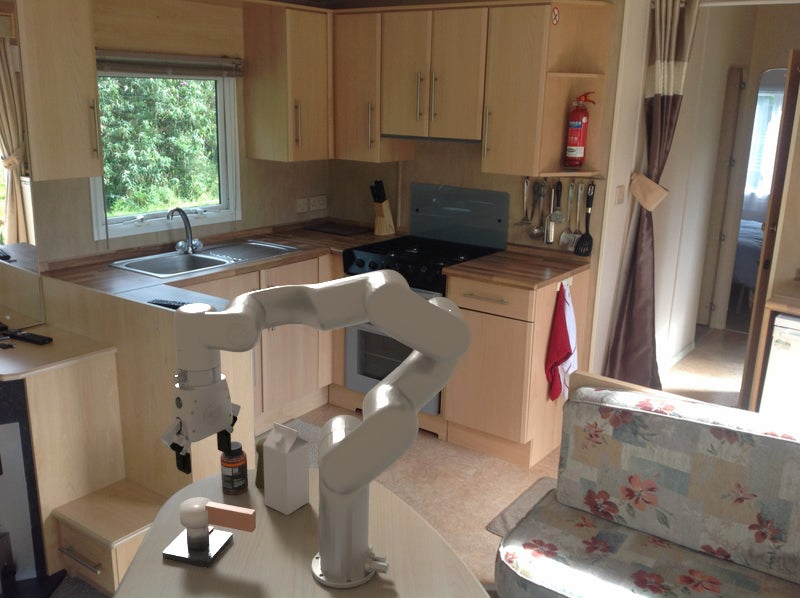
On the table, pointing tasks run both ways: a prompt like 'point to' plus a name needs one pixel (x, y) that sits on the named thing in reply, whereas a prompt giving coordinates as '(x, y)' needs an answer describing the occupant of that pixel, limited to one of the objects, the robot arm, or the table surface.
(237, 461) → the supplement bottle
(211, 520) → the orange bar with ball
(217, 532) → the coupling base
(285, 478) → the milk carton
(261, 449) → the olive pear
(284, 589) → the table surface
